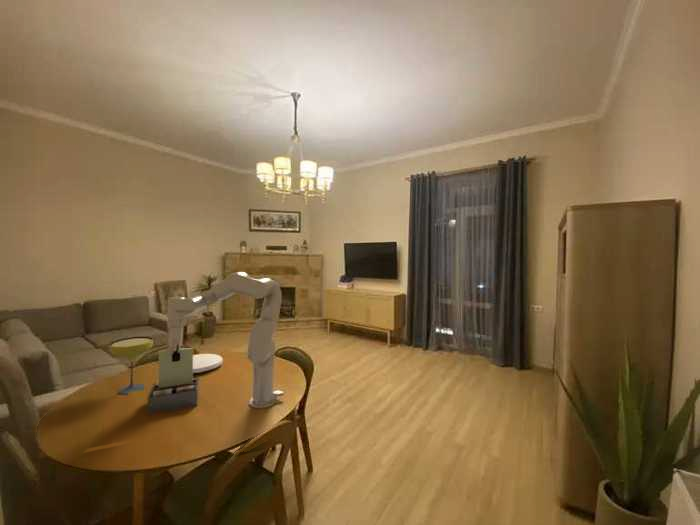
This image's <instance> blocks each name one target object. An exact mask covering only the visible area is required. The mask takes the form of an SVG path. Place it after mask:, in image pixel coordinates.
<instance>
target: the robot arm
mask: <svg viewBox="0 0 700 525" xmlns="http://www.w3.org/2000/svg"><path fill="white" fill-rule="evenodd" d="M236 294H237V295H238V294H239V295H242V296H244V297H245V296H246V297H249V298H253V299H258V300H259V299H264V300H263V303H262V305H261V306H262V307H261V311H260V317H259V318H258V320H256V321H255V323H253V325H252V328H251V329H250V330H251V331H250V335H249V340H248V347H247V354H246V355H247V358H248V360H249V362H250V363H251V364H253V367H252V371H253V372H252V397H251V398H250V399H249V402H248V403H249V406H250V407H252V408H254V409H266V408H270V407H272V406H273V405H275V403H277V397H283V396H284V392H283V391H280V390H274V379H275V378H274V376H275V375H274V372H275V371H274V370H275V355H276V343H275V340H274V339H273V335H274V334H275V332H276V331H277V329H278V325H279V317H280V312H281V305H282V299H283V296H282V290H281V288H280V286H279V284H278V283H277V282H275V281H274V280H273V279H271V278H268V277H264V278H260V279H256V278H253V277H251V276H250V275H249V274H248V273H247V272H244V271H237V272H233V273H230V274H228V275H227V276H226V277H225V278H223V279H222V280H220V281H218V282H216V283H214V284H213V285H212V288H210V289H208V290H207V291H204V292H201V293H200V294H198V295H193V296H191V297H187V298H186V297H184V296H171V297H169V298H168V299H167V328H169V332H168V350H171V348H172V350H173V353H172V362H176V361H180V353H179V349H181V346H182V344H183V336H184V335H183V334H184V327H185V326H186V324H187V322H186V321H187V315H191V314H194V313H197V312H199V311H202V310H205V309H206V308H208V307H211V306H213V305H215V304H217V303H218V302H220V301H223V300H225V299H227V298H229V297H231V296H233V295H236Z"/></svg>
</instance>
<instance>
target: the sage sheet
mask: <svg viewBox="0 0 700 525" xmlns="http://www.w3.org/2000/svg"><path fill="white" fill-rule="evenodd" d="M172 353H173V349H168V350H167V349H166V350H159V351H158V384H159V388H162V387H169V386H175V385H182V384H188V383H193V377H194V373H193V355H194V347H189V348H187V347H186V348H180V349H179V353H180V361H176V362H172Z"/></svg>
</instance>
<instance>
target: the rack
mask: <svg viewBox="0 0 700 525" xmlns="http://www.w3.org/2000/svg"><path fill="white" fill-rule="evenodd" d="M190 385H194V390H193V391H187V392H181V393H176V390H177V387H183V386H190ZM170 388H172V394H168V395H162V396H156V397H153V392H154V391H157V390H164V389H170ZM199 390H200V377H199V376H196V378H194V379H193V383H188V384H182V385H175V386H169V387H162V388H159V383H158V384H157V382H154V383H153V384H152V386H151V389H150V390H149V393H148V395H147V415H148V416H150V415H154V414H160V413H165V412H166V413H167V412H171V411H176V410H182V409H188V408H193V407H198V402H199V393H200V392H199Z"/></svg>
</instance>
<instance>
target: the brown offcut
mask: <svg viewBox="0 0 700 525" xmlns="http://www.w3.org/2000/svg"><path fill="white" fill-rule="evenodd" d="M168 394H172V388H170V389H164V390H157V391H154V392H153V397H156V396H162V395H168Z"/></svg>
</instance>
